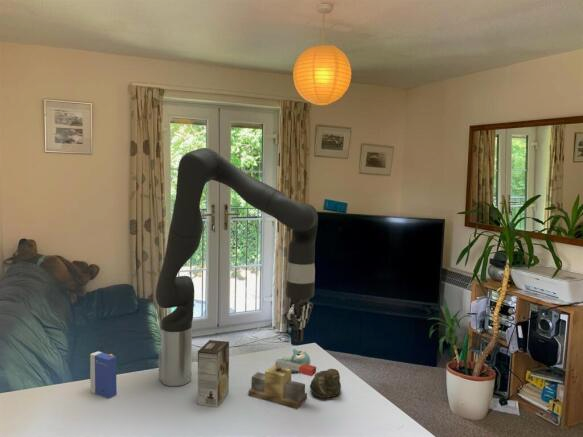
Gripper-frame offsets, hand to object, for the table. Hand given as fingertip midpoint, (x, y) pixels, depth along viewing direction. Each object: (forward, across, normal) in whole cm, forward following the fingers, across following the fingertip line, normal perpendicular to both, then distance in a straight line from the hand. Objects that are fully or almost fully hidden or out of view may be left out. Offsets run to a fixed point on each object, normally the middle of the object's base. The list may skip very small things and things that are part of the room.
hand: (298, 341), depth 121 cm
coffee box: (+22, -5, +25) cm, 33 cm away
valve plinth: (+21, +6, +9) cm, 24 cm away
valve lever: (+13, +6, +4) cm, 15 cm away
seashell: (+22, +17, -1) cm, 28 cm away
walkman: (+22, -19, +54) cm, 61 cm away
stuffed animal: (+22, +26, +15) cm, 37 cm away
